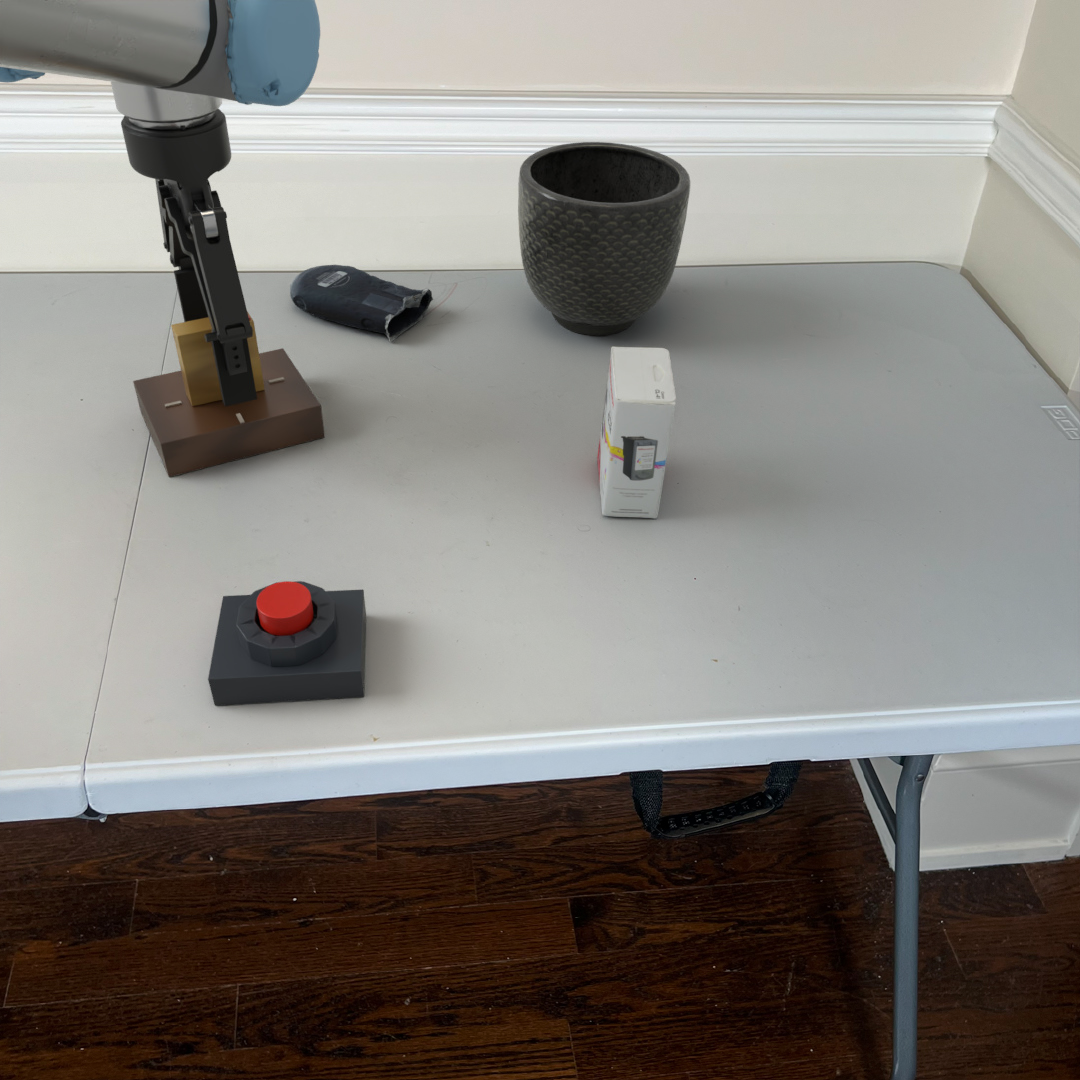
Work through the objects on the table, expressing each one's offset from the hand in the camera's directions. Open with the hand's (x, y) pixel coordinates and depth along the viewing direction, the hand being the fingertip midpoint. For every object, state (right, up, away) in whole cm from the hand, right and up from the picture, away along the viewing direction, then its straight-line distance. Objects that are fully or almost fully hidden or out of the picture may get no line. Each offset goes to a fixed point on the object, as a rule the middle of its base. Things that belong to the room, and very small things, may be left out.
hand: (221, 366), depth 91 cm
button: (+11, -21, -20) cm, 31 cm away
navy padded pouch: (+8, +10, +21) cm, 25 cm away
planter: (+34, +9, +22) cm, 42 cm away
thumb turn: (0, -2, +2) cm, 3 cm away
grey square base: (+11, -24, -18) cm, 31 cm away
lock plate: (0, -5, +4) cm, 6 cm away
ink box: (+36, -11, -1) cm, 37 cm away
